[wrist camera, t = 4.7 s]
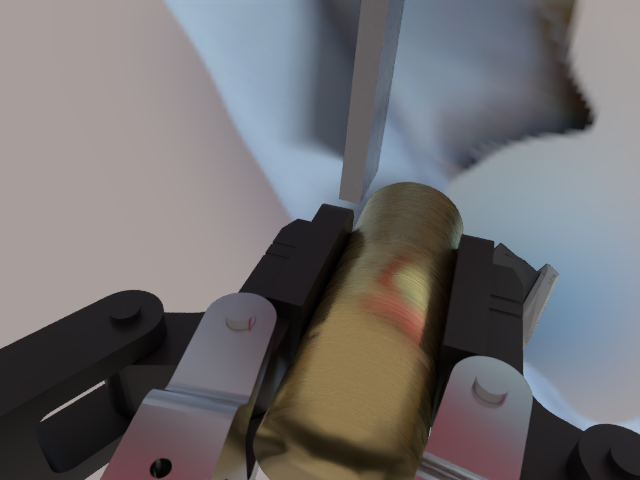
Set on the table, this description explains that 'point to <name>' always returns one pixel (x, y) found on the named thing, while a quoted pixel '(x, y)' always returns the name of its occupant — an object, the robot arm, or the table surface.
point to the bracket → (369, 94)
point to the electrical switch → (528, 286)
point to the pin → (369, 349)
